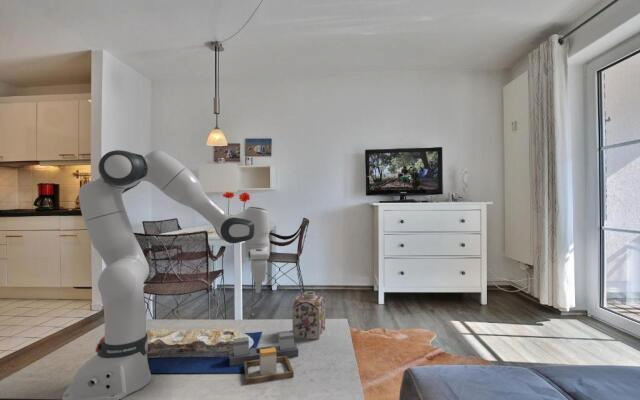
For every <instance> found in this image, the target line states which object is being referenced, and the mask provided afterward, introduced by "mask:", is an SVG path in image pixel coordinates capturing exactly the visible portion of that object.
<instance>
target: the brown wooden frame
mask: <svg viewBox="0 0 640 400" xmlns="http://www.w3.org/2000/svg"><path fill="white" fill-rule="evenodd" d="M283 362H285V363H284V364H285V365H286V368H287V371H284V372H276V373H271V374H264V375H260V376H259V375H258V376H257V375H256V376H251V377H250V376H249V371H248V370H249V369H248V367H256V366H260V359H259V360H252V361H245V362H244V364H243V370H244V375H245V384H246V385H253V384H259V383H265V382H272V381H277V380H283V379H289V378H294V377H295V375H294V373H295V372H294V370H293V367H292V365H291V362H290V361H289V358H287V356H280V357H276V364H277V363H283Z"/></svg>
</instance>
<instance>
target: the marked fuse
mask: <svg viewBox="0 0 640 400" xmlns="http://www.w3.org/2000/svg"><path fill="white" fill-rule="evenodd" d="M259 373H260V376H263V375H270V374H276V373H277V363H276V349H275V347H274V348H267V349H260V365H259Z"/></svg>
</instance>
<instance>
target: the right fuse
mask: <svg viewBox="0 0 640 400" xmlns="http://www.w3.org/2000/svg"><path fill="white" fill-rule="evenodd" d="M294 343H295V337H294V334H293V331H287V332H282V333H278V345H279V350H288V349H294Z"/></svg>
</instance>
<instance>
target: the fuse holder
mask: <svg viewBox="0 0 640 400" xmlns="http://www.w3.org/2000/svg"><path fill="white" fill-rule="evenodd" d="M274 347H275V349H276V357H280V356H287V358H288V359H291V358H298V357H299V348H298V346H297V344H296V342H294V349H288V350H279V344H276V345H269V346H260V347H252V348H249V355H243V356H235V357H234V350H230V351H229V367H233V366H234V367H235V366H240V365H244V362H245V361H252V360H259V359H260V349H267V348H274Z"/></svg>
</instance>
